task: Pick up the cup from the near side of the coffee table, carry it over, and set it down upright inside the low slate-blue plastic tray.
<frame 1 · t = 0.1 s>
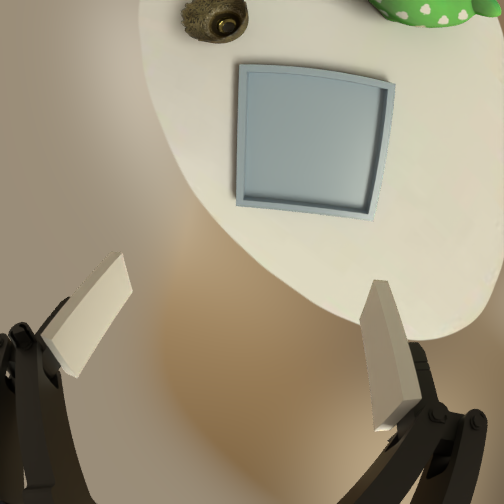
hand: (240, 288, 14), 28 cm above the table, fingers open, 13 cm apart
tray: (313, 140, 35), on the table
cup: (229, 27, 28), on the table
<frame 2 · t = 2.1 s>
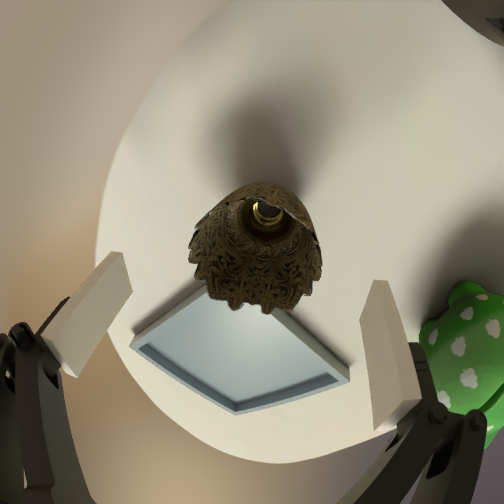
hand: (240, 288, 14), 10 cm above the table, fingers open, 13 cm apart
piggy bank: (467, 315, 24), on the table
tray: (236, 357, 33), on the table
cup: (269, 206, 22), on the table
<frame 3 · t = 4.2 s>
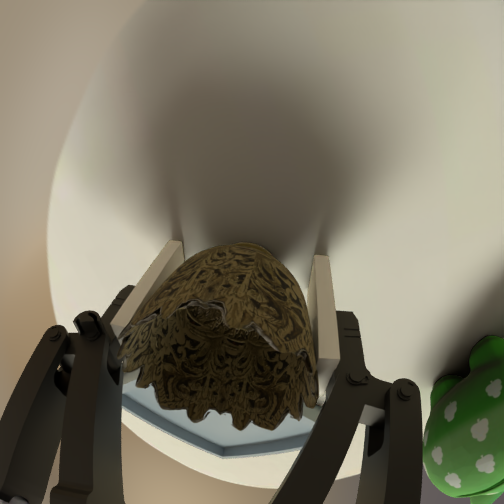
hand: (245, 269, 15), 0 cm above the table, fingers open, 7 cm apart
piggy bank: (485, 365, 18), on the table
tray: (219, 412, 26), on the table
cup: (248, 263, 16), on the table, touching gripper
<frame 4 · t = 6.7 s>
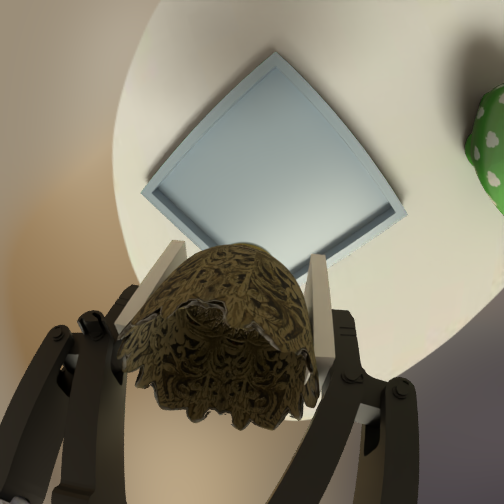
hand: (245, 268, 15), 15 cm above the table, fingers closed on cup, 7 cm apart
piggy bank: (502, 146, 20), on the table
tray: (272, 191, 28), on the table
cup: (248, 263, 16), point 15 cm above the table, touching gripper
when the fingers open (1 cm above the table, at t = 9.2 s): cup stays where it is, resting on tray.
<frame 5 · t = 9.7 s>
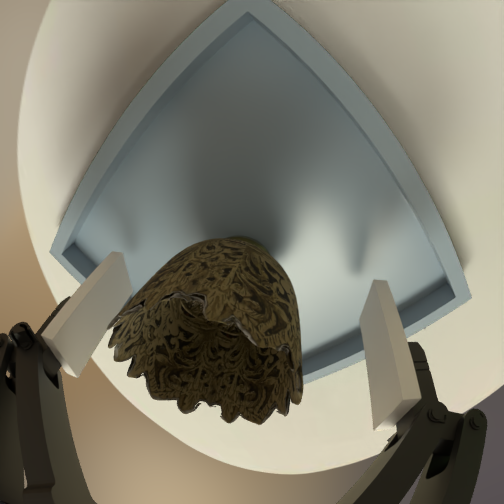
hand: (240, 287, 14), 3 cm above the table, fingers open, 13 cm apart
tray: (248, 258, 16), on the table
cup: (244, 256, 16), resting on tray
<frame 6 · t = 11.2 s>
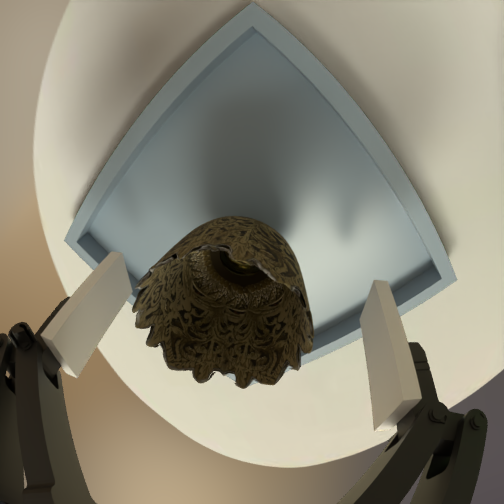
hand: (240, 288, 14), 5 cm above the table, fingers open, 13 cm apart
tray: (251, 243, 18), on the table
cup: (247, 241, 18), resting on tray
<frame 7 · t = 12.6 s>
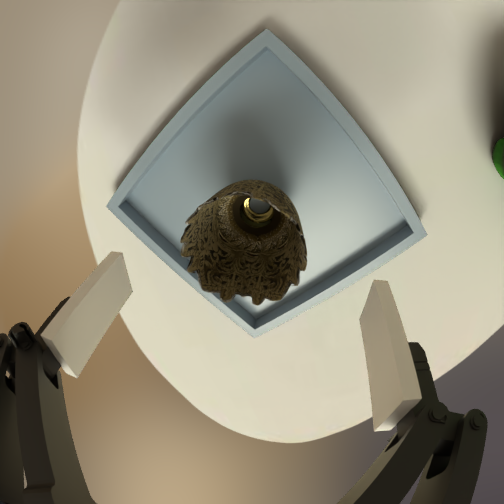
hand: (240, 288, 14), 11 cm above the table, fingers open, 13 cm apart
tray: (262, 205, 23), on the table
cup: (260, 202, 23), resting on tray
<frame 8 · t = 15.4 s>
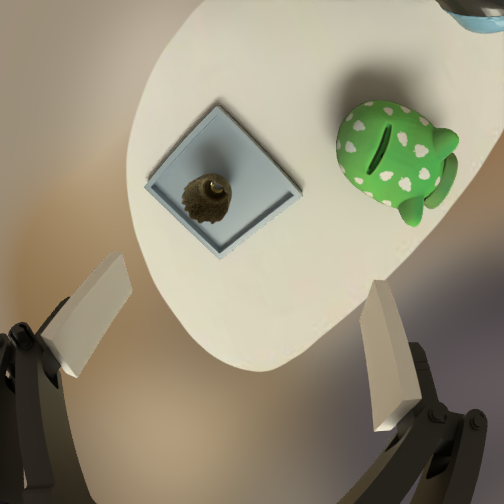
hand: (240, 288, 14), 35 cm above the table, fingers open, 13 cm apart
piggy bank: (382, 146, 40), on the table
tray: (220, 185, 48), on the table
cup: (218, 184, 47), resting on tray
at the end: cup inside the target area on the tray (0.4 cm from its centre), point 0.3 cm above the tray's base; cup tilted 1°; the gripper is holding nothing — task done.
